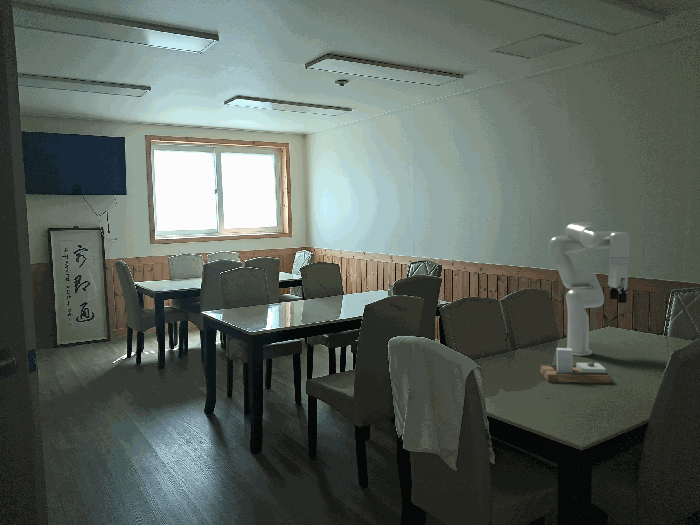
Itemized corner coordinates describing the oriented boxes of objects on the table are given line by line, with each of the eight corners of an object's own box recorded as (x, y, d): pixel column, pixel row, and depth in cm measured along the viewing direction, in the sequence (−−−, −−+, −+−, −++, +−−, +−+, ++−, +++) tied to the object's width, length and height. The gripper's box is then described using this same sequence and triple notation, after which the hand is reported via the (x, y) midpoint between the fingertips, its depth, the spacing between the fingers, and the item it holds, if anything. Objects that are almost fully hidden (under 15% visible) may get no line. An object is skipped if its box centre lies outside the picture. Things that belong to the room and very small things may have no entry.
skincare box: (571, 376, 224) (571, 348, 223) (572, 379, 220) (573, 350, 219) (556, 375, 225) (556, 347, 224) (557, 378, 221) (557, 349, 220)
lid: (576, 367, 226) (576, 359, 225) (598, 367, 225) (598, 360, 224) (582, 373, 217) (582, 365, 216) (605, 373, 216) (606, 366, 215)
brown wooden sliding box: (540, 371, 230) (540, 363, 230) (598, 373, 227) (598, 364, 227) (548, 382, 216) (548, 373, 216) (610, 383, 213) (610, 374, 213)
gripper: (602, 259, 236) (601, 297, 238) (617, 263, 219) (616, 304, 221) (620, 259, 235) (619, 297, 237) (636, 263, 218) (635, 304, 220)
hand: (617, 300), depth 229 cm, fingers open, 9 cm apart
